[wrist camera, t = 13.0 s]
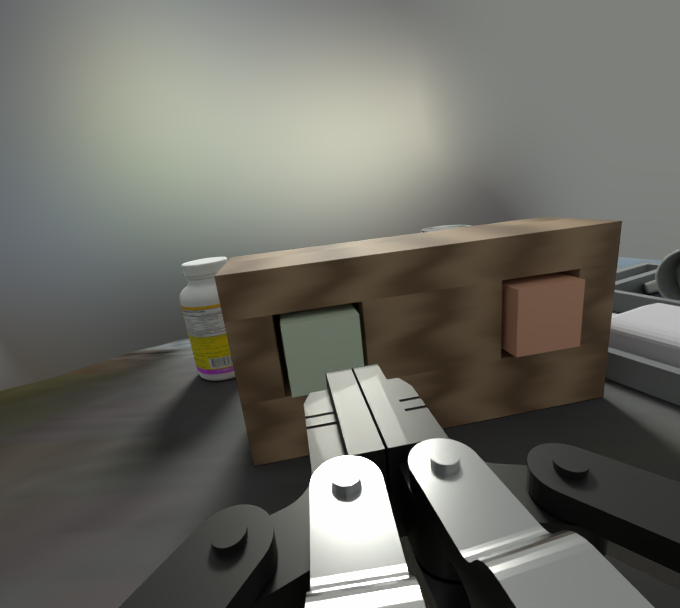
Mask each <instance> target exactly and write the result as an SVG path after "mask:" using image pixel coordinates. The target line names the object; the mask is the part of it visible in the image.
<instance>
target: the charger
mask: <svg viewBox="0 0 680 608" xmlns="http://www.w3.org/2000/svg"><path fill="white" fill-rule="evenodd" d="M609 347H610V348H614V349H617V350H620V351H624V352H627V353H630V354H634V355H637V356H640V357H643V358H647V359H650V360H653V361H657V362H660V363H663V364H667V365H670V366H673V367H676V368H680V307H679V306H673V305H668V304H663V303H655V304H651V305H646V306H642V307H639V308H636V309H633V310H630V311H627V312H624V313H621V314H614V313H612V319H611V328H610V338H609Z"/></svg>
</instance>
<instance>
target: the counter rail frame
mask: <svg viewBox="0 0 680 608" xmlns="http://www.w3.org/2000/svg"><path fill="white" fill-rule="evenodd" d="M658 266H659V264H656V263H646V262H644V263H640V264H637V265H633V266H629V267H626V268H622V269H619V270H617V272H616V281H615V291H614V300H613V310H612V311H616V312H620V313H624V312H627V311H630V310H633V309H636V308H639V307H642V306H646V305H651V304H655V303H663V304H668V305H673V306H679V307H680V301H679V300H673V299H667V298H661V297H655V296H649V295H643V294H642V293H645V292H646V291H645V288H644V284H645V283H647V282H650V281H653V280H655V274H656V270H657V267H658ZM605 378H607V379H609V380H612V381H615V382H617V383H620V384H623V385H625V386H628V387H631V388H633V389H636V390H639V391H641V392H644V393H647V394H649V395H652V396H654V397H657V398H660V399H662V400H665V401H668V402H670V403H673V404H676V405H678V406H680V368H676V367H673V366H670V365H667V364H663V363H660V362H657V361H653V360H650V359H647V358H643V357H640V356H637V355H634V354H630V353H627V352H624V351H620V350H617V349H614V348H610V347H608V357H607V366H606V375H605Z"/></svg>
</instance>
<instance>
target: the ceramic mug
mask: <svg viewBox="0 0 680 608" xmlns="http://www.w3.org/2000/svg"><path fill="white" fill-rule="evenodd" d="M644 288H645V291H646V293H647V294H651V293H657V292H659V293H660V295H661V296H662V297H663V298H667V299H673V300H679V301H680V249H678V250H676V251H674V252H672V253H670V254H669V255H667V256H666V257H665V258H664V259H663V260H662V261H661V263H660V264H659V266H658V267H657V270H656V274H655V280H653V281H650V282H647V283H645V284H644Z"/></svg>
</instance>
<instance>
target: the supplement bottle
mask: <svg viewBox="0 0 680 608" xmlns="http://www.w3.org/2000/svg"><path fill="white" fill-rule="evenodd" d="M226 262H227V258H226V257H213V258H205V259H199V260H194V261H190V262H186V263H184V264H182V270H183V275H184V276H185V278H186V279H187V282H188V286H187V287H185V288H184V289H183V290H182V292H181V293H180V304H181V307H182V311H183V315H184V319H185V323H186V327H187V331H188V334H189V339H190V343H191V347H192V351H193V355H194V359H195V363H196V367H197V370H198V373H199V375H200V376H201V377H202V378H204V379H206V380H212V381H220V380H227V379H231V378H235V372H234V368H233V363H232V358H231V353H230V349H229V344H228V339H227V334H226V330H225V325H224V320H223V315H222V311H221V306H220V301H219V296H218V292H217V287H216V282H215V277H214V276H215V275H216V274H217V272H218V271H219V270H220V269H221V268H222V267H223V266H224V265H225V264H226Z"/></svg>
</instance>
